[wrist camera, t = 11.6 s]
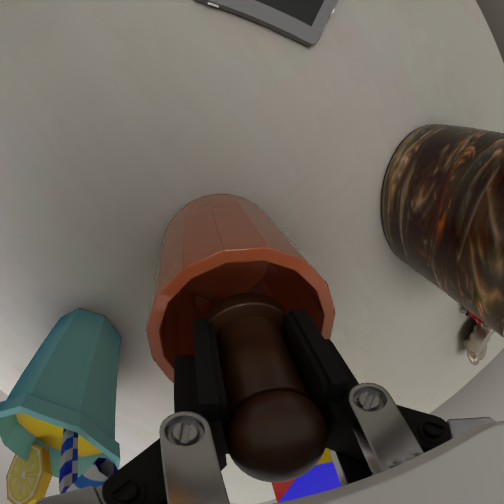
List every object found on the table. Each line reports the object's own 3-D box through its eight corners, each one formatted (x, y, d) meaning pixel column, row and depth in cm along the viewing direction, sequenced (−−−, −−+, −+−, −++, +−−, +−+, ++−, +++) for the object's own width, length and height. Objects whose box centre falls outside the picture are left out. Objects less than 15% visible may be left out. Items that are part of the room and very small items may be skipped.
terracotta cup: (168, 304, 20) (164, 405, 12) (157, 196, 18) (133, 254, 10) (273, 296, 22) (320, 386, 14) (278, 192, 19) (346, 242, 11)
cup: (99, 229, 18) (-23, 425, 4) (191, 299, 21) (215, 521, 7) (24, 351, 20) (-34, 498, 6) (97, 398, 23) (78, 550, 9)
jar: (487, 200, 23) (608, 260, 9) (417, 288, 25) (533, 392, 11) (440, 97, 18) (611, 120, 5) (349, 195, 20) (541, 305, 6)
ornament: (513, 299, 26) (491, 287, 29) (500, 324, 23) (474, 309, 26) (489, 348, 30) (470, 336, 33) (471, 376, 27) (450, 361, 30)
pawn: (202, 367, 12) (222, 508, 6) (195, 295, 11) (212, 455, 5) (284, 358, 13) (339, 485, 7) (291, 287, 12) (373, 422, 6)
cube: (278, 397, 26) (304, 467, 19) (350, 391, 28) (384, 448, 21) (259, 442, 29) (277, 502, 22) (324, 435, 31) (348, 487, 24)
